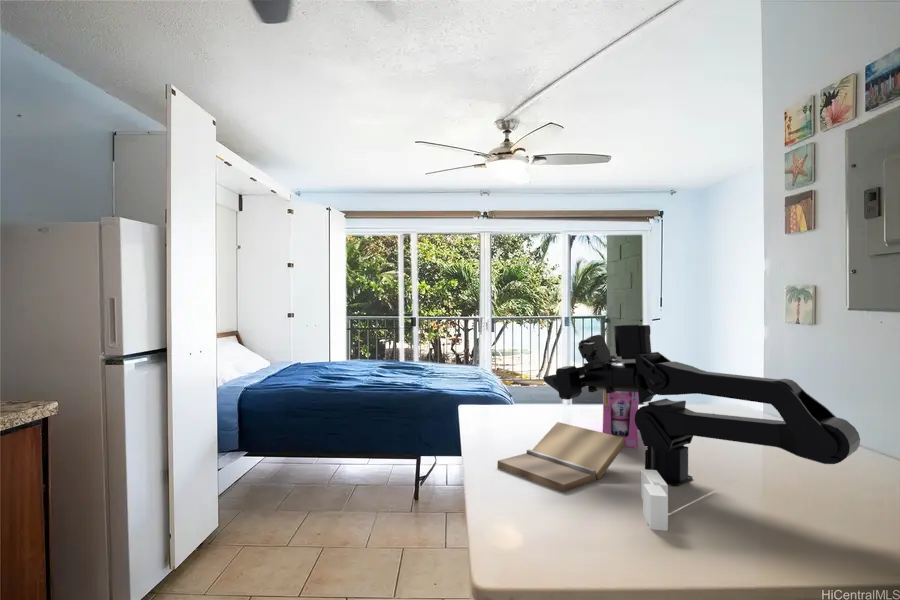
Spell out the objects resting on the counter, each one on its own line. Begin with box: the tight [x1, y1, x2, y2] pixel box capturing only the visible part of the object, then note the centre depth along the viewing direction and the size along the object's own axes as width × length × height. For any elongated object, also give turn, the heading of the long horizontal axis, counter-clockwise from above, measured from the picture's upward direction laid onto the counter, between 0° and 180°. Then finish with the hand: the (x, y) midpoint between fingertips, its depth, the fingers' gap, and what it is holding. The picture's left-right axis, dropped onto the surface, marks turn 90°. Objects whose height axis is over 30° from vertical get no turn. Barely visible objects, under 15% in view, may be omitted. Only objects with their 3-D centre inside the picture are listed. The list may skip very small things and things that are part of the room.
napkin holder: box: [640, 468, 669, 531], centre depth 75 cm, size 15×11×6 cm
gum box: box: [602, 390, 639, 449], centre depth 121 cm, size 24×8×14 cm, turn 160°
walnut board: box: [497, 448, 597, 493], centre depth 92 cm, size 16×9×2 cm, turn 38°
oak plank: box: [532, 421, 626, 480], centre depth 98 cm, size 16×10×2 cm, turn 38°
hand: (557, 375), depth 110 cm, fingers open, 9 cm apart
